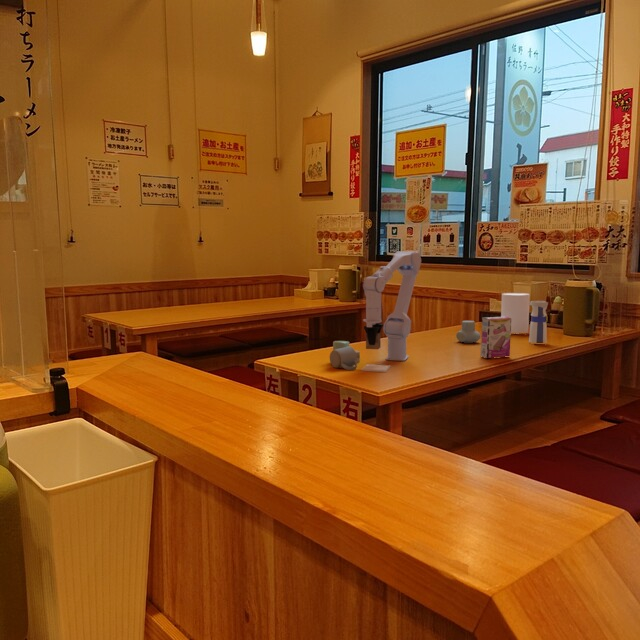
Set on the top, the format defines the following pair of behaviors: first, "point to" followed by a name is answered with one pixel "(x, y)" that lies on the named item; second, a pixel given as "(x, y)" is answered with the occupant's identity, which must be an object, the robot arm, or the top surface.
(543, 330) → the water bottle
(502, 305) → the canister
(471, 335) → the air freshener
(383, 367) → the trivet
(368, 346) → the walnut block
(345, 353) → the ceramic mug
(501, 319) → the candy bar box
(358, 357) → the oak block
